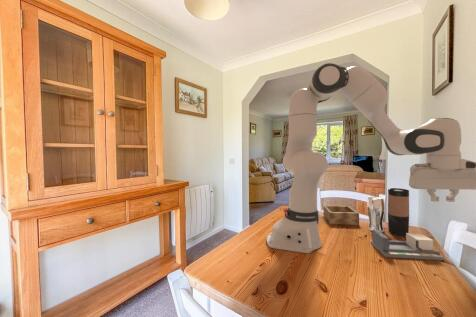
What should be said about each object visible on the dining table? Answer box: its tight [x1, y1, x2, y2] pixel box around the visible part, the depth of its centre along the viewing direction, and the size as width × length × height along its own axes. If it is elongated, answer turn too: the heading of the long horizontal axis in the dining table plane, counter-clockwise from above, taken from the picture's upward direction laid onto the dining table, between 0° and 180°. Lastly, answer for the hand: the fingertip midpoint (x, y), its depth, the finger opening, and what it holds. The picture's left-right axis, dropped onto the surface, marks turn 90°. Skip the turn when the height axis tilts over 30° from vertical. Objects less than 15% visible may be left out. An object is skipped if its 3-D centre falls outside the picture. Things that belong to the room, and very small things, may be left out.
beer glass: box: [366, 196, 386, 233], centre depth 97 cm, size 7×7×15 cm
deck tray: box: [322, 205, 360, 226], centre depth 112 cm, size 14×14×6 cm
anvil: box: [372, 230, 390, 252], centre depth 77 cm, size 2×8×5 cm, turn 171°
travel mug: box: [387, 187, 410, 237], centre depth 92 cm, size 8×8×20 cm
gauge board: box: [370, 239, 445, 261], centre depth 76 cm, size 18×11×2 cm, turn 80°
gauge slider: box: [405, 232, 434, 251], centre depth 74 cm, size 5×8×4 cm, turn 170°
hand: (442, 201), depth 74 cm, fingers open, 3 cm apart
